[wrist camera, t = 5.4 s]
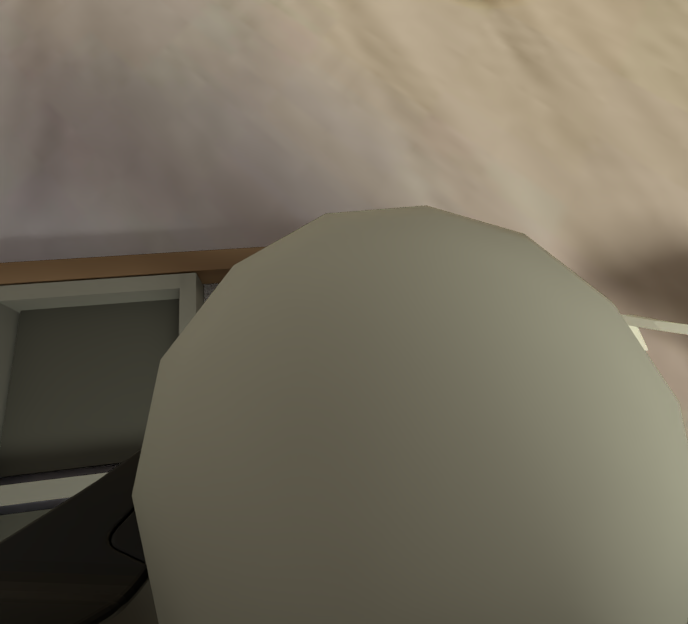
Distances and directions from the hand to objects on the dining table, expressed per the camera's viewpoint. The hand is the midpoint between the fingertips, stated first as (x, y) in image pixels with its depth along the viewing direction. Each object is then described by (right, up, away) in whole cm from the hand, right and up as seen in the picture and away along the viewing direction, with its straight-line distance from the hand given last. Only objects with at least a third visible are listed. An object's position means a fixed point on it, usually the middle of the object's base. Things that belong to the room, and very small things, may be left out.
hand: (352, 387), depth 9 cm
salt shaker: (-1, -4, +6) cm, 7 cm away
